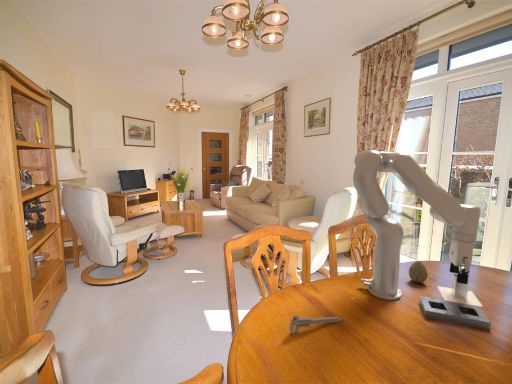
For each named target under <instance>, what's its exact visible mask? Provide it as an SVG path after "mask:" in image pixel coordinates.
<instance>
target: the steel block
mask: <svg viewBox="0 0 512 384" xmlns="http://www.w3.org/2000/svg"><path fill="white" fill-rule="evenodd" d="M457 276H458V274H457V273H452V284H451V288H452V291H451V293H452V294H453V296H454V297H456V298H462V299H467V292H468V291H469V289H468V288H469V282H470V280H469V279H468V283H467V284H462V283H458V282H457Z"/></svg>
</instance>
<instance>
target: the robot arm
mask: <svg viewBox="0 0 512 384" xmlns="http://www.w3.org/2000/svg"><path fill="white" fill-rule="evenodd" d="M353 162H354V164H355V168H354V171H353V177H352V178H353V179H352V180H353V185H354V187H355V190H356V192H357V194H358V196H359V199H358V205H359V209H360V212H361V213H362V215H363V217H364V219H365V221H366V222H367V225H368V226H369V228H370V230H371V231H372V233H374V234H375V236H376V239H375V243H374V246H373V247H374V248H373V263H372V264H373V265H372V266H373V267H372V268H373V271H372V277H371V278H369V279H367V278H362V277H361V279H360V283H361V284H363V286H365V287H367V290H368V292H369V293H370V294H371V295H372V296H374V297H376V298H379V299H382V300H388V301H394V300H395V301H396V300H399V299H401V297H402V296H403V293H402V290H401V289H400V288H399V276H400V264H401V263H400V261H401V260H400V259H401V250H402V244H403V239H404V228H403V226H402V225H401V224H400V222H398V221H397V220H396V219H395V218H393V217H391V216H390V214H389V212H390V204H389V202H388V200H387V198H386V197H385V195H384V192H383V191H382V189H381V187H380V185H379V181H378V179H377V176H378V173H379V172H380V173H391V174H394V175H395V177H396V178H397V179H398V180H399V181H400V182H401V183H402V184H403V185H404V187H405V188H406V189H407V190H408V191H409V192H410V193H411V194H412V195H413V196H414V197H416V198H418V199H420V200H421V201H423V202H424V203H426V204H427V205H429V207H430V208H429V214H430V216H431V217H432V218H433V219H434V220H436V221H438V222H440V223H442V224H445V225H447V226H449V227H452V230H451V239H452V240H451V243H450V247H449V253H448V259H449V260H450V265H449V273H451V274H457V275H458V276H457V282H458V283H462V284H467V283H468V280H469V276H470V272H471V271H470V269H471V266H472V263H473V261H472V260H473V252H474V244H475V243H476V242H477V237H478V231H479V230H478V229H479V224H480V223H479V222H480V217H481V208H480V207H479V206H478V205H473V204H469V203H468V204H466V203H465V204H464V203H462V204H461V203H459V202H458V201H457V199H455V198H454V196H453V195H452V194H450V193H449V192H448V191H447V190H446V189H444V188H443V187H442V186H441V185H440V184H439V183H437V182H436V181H435V180H433V179H432V178H431V177H430V176H429V175H428V173H427V172H426V171H425V170H424V169H423V168H422V167H421V166H420V164H419V163H418V162H417V161H416V160H415V159H414V158H413V157H412V156H411V155H410V154H409V153H407V152H402V151H401V152H400V151H399V152H395V151H394V152H389V151H378V150H374V149H367V150H362V151H359V152H358V153H357V154H356V155H355V157H354V161H353ZM468 284H469V283H468Z"/></svg>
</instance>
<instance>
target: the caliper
mask: <svg viewBox="0 0 512 384" xmlns="http://www.w3.org/2000/svg"><path fill="white" fill-rule="evenodd" d="M340 321H344V319H343V318H341V317H340V316H327V317H317V318H315V317H314V318H313V317H312V318H311V317H300V316H299V315H296V316H295V315H293V318H291V320H290V324H289V333H290V334H291V335H292V336H293V335H294V333H295V334H296V335H298V334H299V332H300V329H301V327H303V328H307V327H309V328H310V326H311V325H320V324H332V323H333V324H334V323H339V322H340ZM297 333H298V334H297Z"/></svg>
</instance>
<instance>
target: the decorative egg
mask: <svg viewBox="0 0 512 384" xmlns="http://www.w3.org/2000/svg"><path fill="white" fill-rule="evenodd" d="M408 275H409V278H410V279H411V281H413V282H414V283H415V284H416V283H417V284H423V283H425V282H426V280H427V279H428V275H429V273H428V270H427V267H426V266H425V265H424V263H423V262H421V260H417V261H415V262H413V263H412V264H411V265H410V267H409V269H408Z"/></svg>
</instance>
